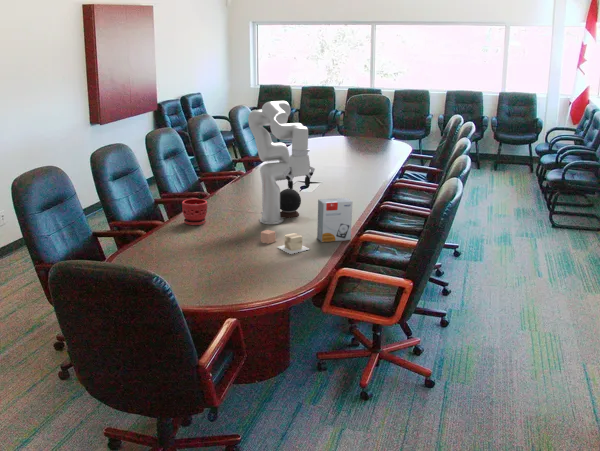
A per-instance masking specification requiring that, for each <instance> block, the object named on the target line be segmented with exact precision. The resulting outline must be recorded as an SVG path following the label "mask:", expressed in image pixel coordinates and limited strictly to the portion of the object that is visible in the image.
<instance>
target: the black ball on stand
mask: <svg viewBox="0 0 600 451" xmlns="http://www.w3.org/2000/svg"><path fill="white" fill-rule="evenodd" d="M301 204H302V197H301V195H300V193H299V192H298V191H297V190H295V189H294V188H293V189H290V188H285V189H283V190H282V191H281V190H280V217H282V218H283V219H296V218H299V217H300V213H299V211H298V209H299V208H300V207H301Z"/></svg>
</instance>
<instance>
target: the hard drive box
mask: <svg viewBox="0 0 600 451" xmlns="http://www.w3.org/2000/svg"><path fill="white" fill-rule="evenodd" d="M317 202H318V204H317V229H316V230H317V233H316V238H317V239H318V240H319V242H321V243H327V242H329V243H331V242H338V241H341V242H342V241H351V238H352V219H353V218H352V217H353V214H352V213H353V201H352V200H351V199H350V198H349V197H337V198H320V199H318V200H317Z"/></svg>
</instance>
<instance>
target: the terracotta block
mask: <svg viewBox="0 0 600 451" xmlns="http://www.w3.org/2000/svg"><path fill="white" fill-rule="evenodd" d="M260 242H261V243H264V244H268V245H270V244H272V243H274V242H276V231H274V230H270V229H266V230H265V229H264V230H263V231H260Z"/></svg>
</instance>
